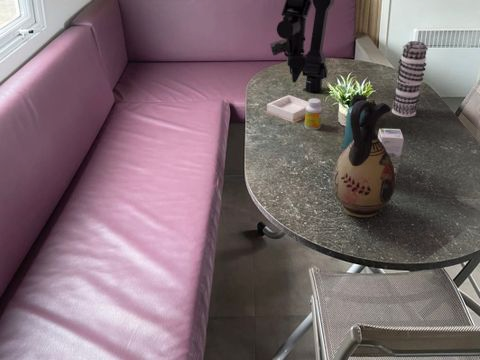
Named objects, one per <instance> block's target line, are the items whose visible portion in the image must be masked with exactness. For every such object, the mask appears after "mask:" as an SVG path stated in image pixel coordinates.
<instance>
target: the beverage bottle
mask: <svg viewBox="0 0 480 360" xmlns="http://www.w3.org/2000/svg"><path fill="white" fill-rule="evenodd" d="M361 100H367V101H368V97H367V95H365V94H361V93H360V94H354V95H353V96H352V100H351V104H352V105H351V106H350V107H349V108H347V111H346V119H345V120H346V121H345V127H344V135H343V136H344V139H343V146H342V148H343V149H342V153H343V152H344V150H345V149H346V148H347V147H348V146H349V145H350V143H351V142H352V141H353V133H352V129H351V124H350V116H351V111H352V107H353V106H354V104H355V103H356V102H358V101H361ZM364 111H365V110H364ZM364 111H362V113H361V115H360V121H361V119H362V117H363V115H364ZM360 128H361V129H362V127H360Z"/></svg>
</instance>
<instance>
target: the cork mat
mask: <svg viewBox="0 0 480 360" xmlns="http://www.w3.org/2000/svg"><path fill="white" fill-rule="evenodd" d="M263 112H264V113H267V114H269V115H271V116H274V117H277V118H280V119H283V120H285V121H288V122H290V123H293V124H296V123H297V122H299V121H301V120H305V116H304V117H302V118H299V119H297V120H295V121H293V122H292V121H290V120H287V119H284V118H282V117H279V116H276V115H274V114H271V113H268V112H267V109H266V110H264V111H263Z"/></svg>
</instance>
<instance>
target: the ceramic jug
mask: <svg viewBox="0 0 480 360" xmlns="http://www.w3.org/2000/svg"><path fill="white" fill-rule="evenodd" d="M353 105H354V106H353ZM353 105H352V106H353V107H352V111H351V116H350V124H351V129H352V133H353V141H352V142H351V143H350V145H349V146H348V147H347V148H346V149H345V150H344V152H343V151H342V153H341V154H340V156H339V157H338V159H337V161H336V163H335V165H334V167H333V170H332V171H333V172H332V175H331V176H332V177H331V182H332V183H331V186H332V190H333V193H334V196H335V197H336V199H337V201H339V203H340V204H341V205H342V208H343V209H344V212H345V214H347V215H349V216H352V217H357V218H372V217H375V216H376V215H378V214H380V212H381V210H380V209H382V208H383V207H384V206H386V204H387V203H388V202H389V201H390V200H391V198H392V197H393V195H394V192H395V189H396V181H395V172H394V167H393V164H392V161H391V159H390V157H389V155H388V153H387V151H386V149H385V147H384V146H383V144H382V143H381V141H380V140H379V138H378V135H377V132H376V126H377V122H378V120H380V118H381V117H382V116H384V115H385V114H387V113H389V112H391V111H392V109H391V106H389V105H387V104H386V103H384V102H381V103H378V104H377V103H376V102H375V100H374V99H371V100H370V101H369V100H368V99H367V100H361V101H358V102H356V103H355V104H353ZM364 110H365V111H364ZM362 111H364V115H363V117H362V119H361V121H360V115H361V113H362ZM360 127H362V129H361V128H360Z"/></svg>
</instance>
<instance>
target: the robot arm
mask: <svg viewBox="0 0 480 360" xmlns="http://www.w3.org/2000/svg"><path fill="white" fill-rule="evenodd" d="M334 4H335V0H285V2H284V5H283V7H282V12H281V16H283V17H282V20H280V21H279V22H278V24H277V26H276V32H277V33H276V34H277V35H278V37H280V38H281V39H280V40H278V41H274V42H271V43H270V44H269V47H270V50H271V53H272V56H278V54H282V53H284V56H285V57H286V64H287V66H288V67H289V74H290V75H291V81H292V83H297V81H298V79H299V77H300V75H301V74H302V76H303V77H304V76H305V77H306V80H305V88H302V91H304V92H308V93H310V94H313V95H316V94H320V93H322V92H325V90H326V89H325V88H323V87H322V86H323V80H324V79H327V78H328V70H329V69H328V68H327V65H326V57H325V54H324V52H323V48H324V40H325V36H326V35H325V34H326V27H327V22H328V15H329V11H330V10H331V8H332V7H333V6H334ZM312 5H313V7H314V9H315V12H314V19H313V25H312V26H313V27H312V34H311V40H310V45H309V51H308V52H307V53H306V54H305V47H304V46H305V42H306V25H307V24H306V23H307V17H308V15H309V13H310V10H311V8H312Z"/></svg>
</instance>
